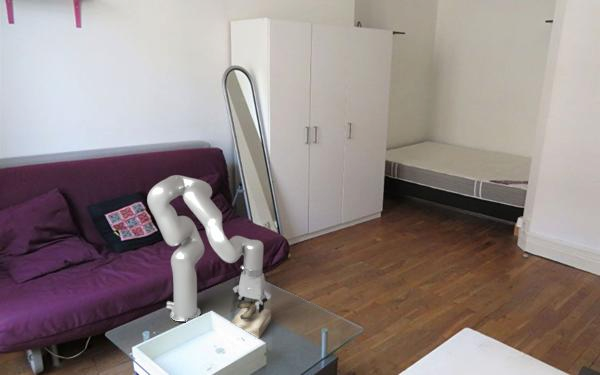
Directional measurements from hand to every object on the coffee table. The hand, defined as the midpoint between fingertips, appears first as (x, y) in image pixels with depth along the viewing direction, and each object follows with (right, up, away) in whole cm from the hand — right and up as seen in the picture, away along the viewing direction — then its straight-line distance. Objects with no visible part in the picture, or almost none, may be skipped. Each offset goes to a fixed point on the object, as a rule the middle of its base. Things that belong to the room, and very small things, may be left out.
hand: (251, 308), depth 192 cm
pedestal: (0, -8, +2) cm, 8 cm away
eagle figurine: (-1, -2, -1) cm, 2 cm away
